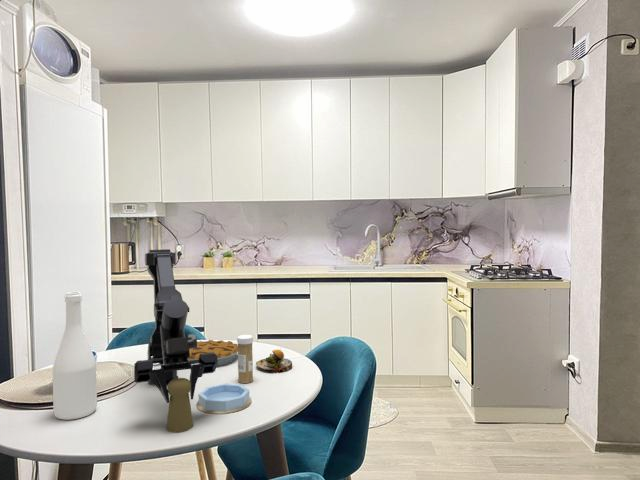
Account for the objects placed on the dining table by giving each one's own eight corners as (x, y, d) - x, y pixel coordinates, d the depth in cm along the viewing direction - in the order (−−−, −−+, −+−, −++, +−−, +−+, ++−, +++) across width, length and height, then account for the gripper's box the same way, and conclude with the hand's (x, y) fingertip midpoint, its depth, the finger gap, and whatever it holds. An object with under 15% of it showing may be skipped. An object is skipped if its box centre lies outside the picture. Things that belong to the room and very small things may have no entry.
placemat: (187, 412, 116) (187, 410, 116) (209, 391, 130) (209, 390, 130) (241, 415, 114) (241, 414, 114) (258, 394, 127) (258, 393, 127)
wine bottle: (67, 424, 109) (64, 296, 108) (45, 415, 114) (42, 293, 113) (105, 410, 117) (102, 291, 116) (83, 402, 122) (80, 288, 121)
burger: (259, 362, 158) (259, 340, 157) (294, 362, 157) (293, 340, 157) (252, 374, 146) (252, 350, 145) (290, 374, 145) (290, 350, 145)
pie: (243, 350, 172) (243, 337, 171) (234, 369, 150) (234, 354, 150) (183, 351, 171) (183, 337, 171) (165, 370, 149) (165, 354, 149)
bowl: (192, 409, 117) (192, 399, 117) (211, 391, 128) (211, 382, 128) (238, 412, 115) (238, 402, 115) (253, 394, 127) (253, 385, 126)
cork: (168, 434, 104) (167, 385, 103) (164, 424, 109) (163, 377, 108) (196, 429, 106) (195, 381, 106) (190, 419, 112) (189, 373, 111)
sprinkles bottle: (255, 381, 138) (255, 336, 137) (241, 384, 135) (241, 338, 135) (249, 377, 142) (248, 333, 141) (235, 380, 139) (234, 335, 138)
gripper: (133, 326, 106) (137, 390, 97) (215, 319, 114) (226, 377, 105) (132, 352, 114) (135, 413, 104) (209, 343, 122) (219, 400, 112)
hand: (180, 400), depth 106 cm, fingers closed on cork, 5 cm apart
